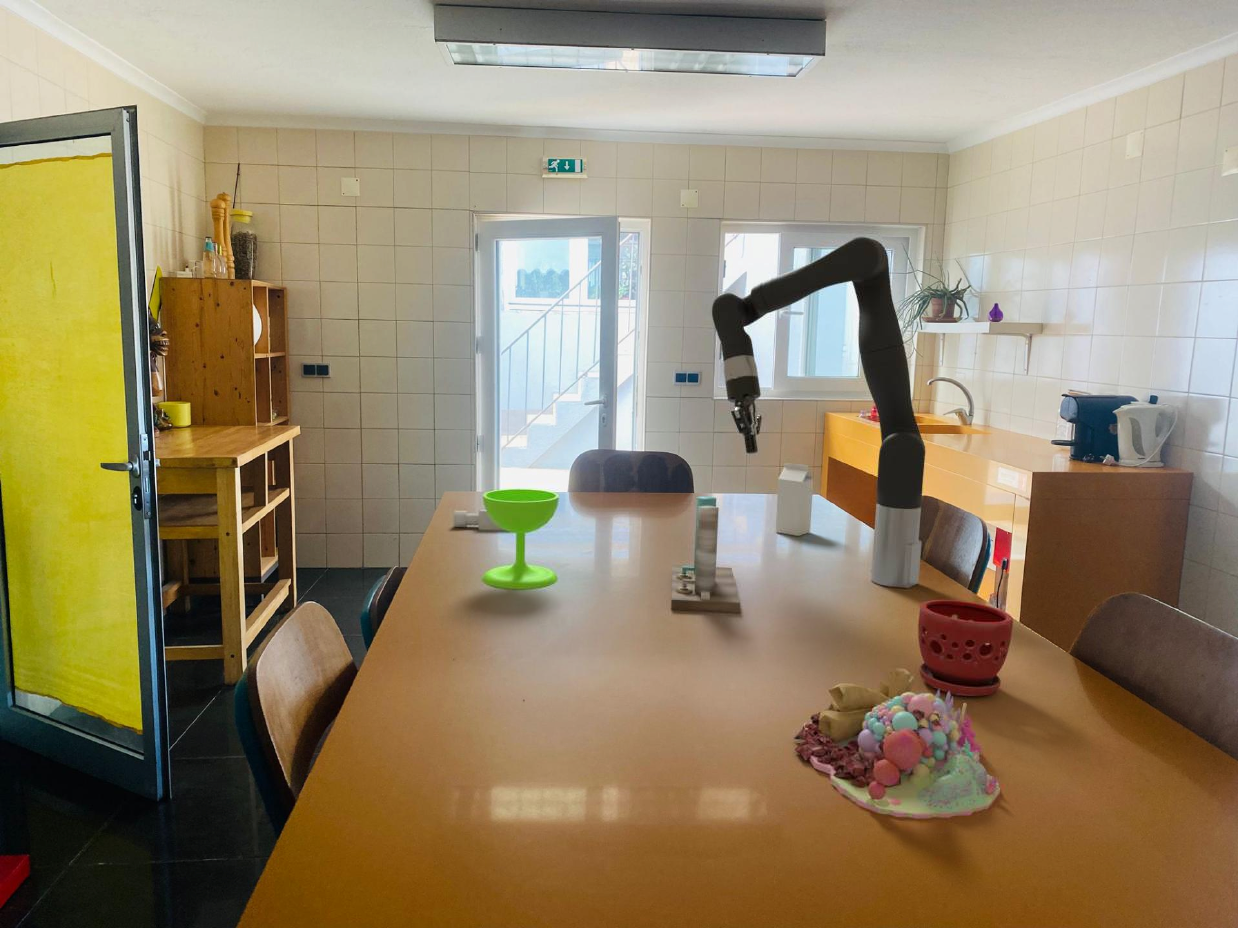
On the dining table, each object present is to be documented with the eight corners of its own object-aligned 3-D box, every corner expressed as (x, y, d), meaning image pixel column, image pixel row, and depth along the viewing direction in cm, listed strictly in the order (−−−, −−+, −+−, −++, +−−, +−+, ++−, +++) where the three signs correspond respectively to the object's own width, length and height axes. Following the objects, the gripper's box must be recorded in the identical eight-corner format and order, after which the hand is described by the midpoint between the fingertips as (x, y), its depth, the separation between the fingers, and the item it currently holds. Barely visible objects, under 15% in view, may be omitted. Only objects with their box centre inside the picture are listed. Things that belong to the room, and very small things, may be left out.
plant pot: (1015, 706, 124) (1023, 626, 122) (920, 697, 126) (926, 618, 125) (995, 673, 136) (1002, 600, 135) (908, 665, 139) (914, 593, 137)
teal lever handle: (682, 571, 182) (685, 495, 180) (712, 572, 181) (716, 496, 179) (682, 576, 178) (685, 498, 176) (713, 577, 177) (716, 500, 175)
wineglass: (563, 570, 190) (564, 490, 188) (550, 591, 175) (552, 503, 172) (492, 566, 192) (493, 487, 189) (473, 586, 176) (473, 500, 174)
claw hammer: (469, 495, 258) (453, 510, 228) (542, 497, 259) (536, 512, 229) (468, 513, 259) (453, 530, 229) (542, 514, 260) (536, 532, 230)
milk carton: (798, 536, 232) (803, 467, 229) (775, 532, 236) (778, 464, 233) (810, 532, 237) (814, 464, 235) (786, 528, 242) (790, 461, 239)
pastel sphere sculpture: (762, 736, 113) (765, 669, 111) (901, 710, 122) (906, 647, 121) (895, 837, 90) (901, 754, 89) (1053, 795, 100) (1061, 720, 99)
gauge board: (672, 573, 190) (675, 489, 188) (731, 576, 189) (735, 491, 187) (671, 609, 165) (674, 512, 162) (739, 612, 164) (744, 515, 161)
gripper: (737, 387, 204) (747, 459, 201) (714, 377, 193) (725, 453, 190) (767, 380, 200) (778, 452, 197) (745, 369, 189) (756, 446, 186)
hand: (752, 452), depth 194 cm, fingers closed
